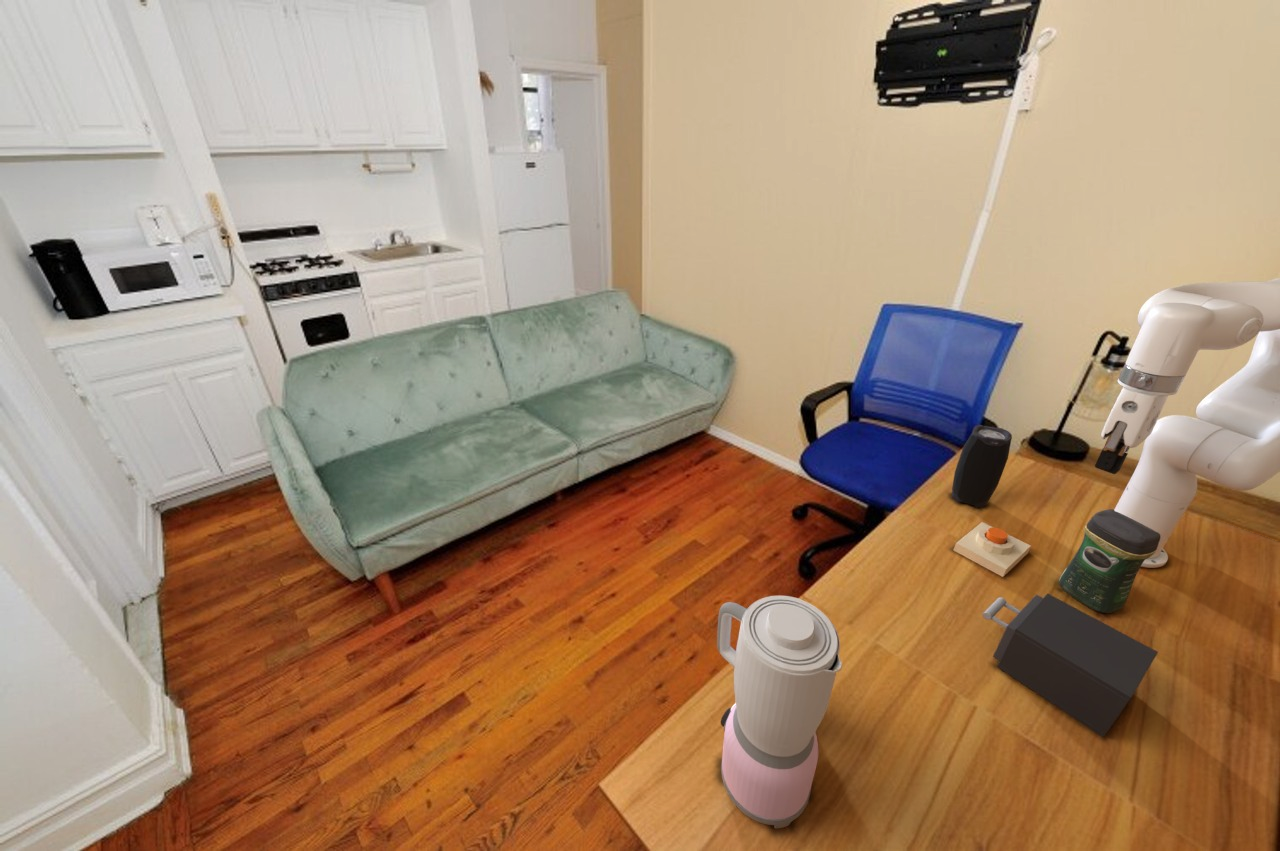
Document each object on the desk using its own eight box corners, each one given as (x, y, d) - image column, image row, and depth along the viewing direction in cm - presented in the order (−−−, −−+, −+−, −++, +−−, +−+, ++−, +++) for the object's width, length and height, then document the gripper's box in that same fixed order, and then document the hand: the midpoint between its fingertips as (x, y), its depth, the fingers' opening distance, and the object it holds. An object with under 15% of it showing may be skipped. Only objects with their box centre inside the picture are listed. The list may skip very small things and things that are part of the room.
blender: (826, 780, 71) (870, 622, 56) (779, 854, 64) (816, 696, 48) (734, 704, 81) (751, 553, 66) (685, 761, 74) (691, 605, 58)
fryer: (997, 667, 86) (1015, 628, 81) (1028, 630, 92) (1047, 593, 88) (1103, 737, 75) (1131, 697, 71) (1130, 691, 82) (1158, 651, 77)
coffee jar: (1129, 608, 96) (1176, 533, 88) (1100, 619, 94) (1145, 543, 85) (1076, 573, 104) (1114, 501, 96) (1049, 583, 102) (1085, 510, 94)
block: (979, 529, 117) (984, 515, 115) (1027, 553, 110) (1034, 539, 108) (953, 550, 111) (958, 536, 109) (1002, 577, 104) (1009, 562, 102)
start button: (990, 531, 111) (992, 525, 110) (1008, 540, 109) (1011, 534, 108) (982, 538, 109) (985, 531, 108) (1000, 547, 107) (1003, 540, 106)
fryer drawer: (967, 640, 90) (980, 609, 86) (996, 610, 96) (1009, 579, 92) (1088, 719, 77) (1109, 687, 73) (1113, 679, 83) (1135, 647, 79)
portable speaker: (940, 490, 131) (961, 424, 122) (975, 488, 131) (998, 422, 122) (961, 511, 123) (986, 441, 114) (998, 508, 124) (1025, 439, 115)
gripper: (1164, 398, 78) (1116, 493, 87) (1194, 374, 85) (1146, 464, 94) (1105, 382, 84) (1065, 474, 93) (1137, 361, 91) (1097, 448, 100)
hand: (1106, 469), depth 93 cm, fingers closed
